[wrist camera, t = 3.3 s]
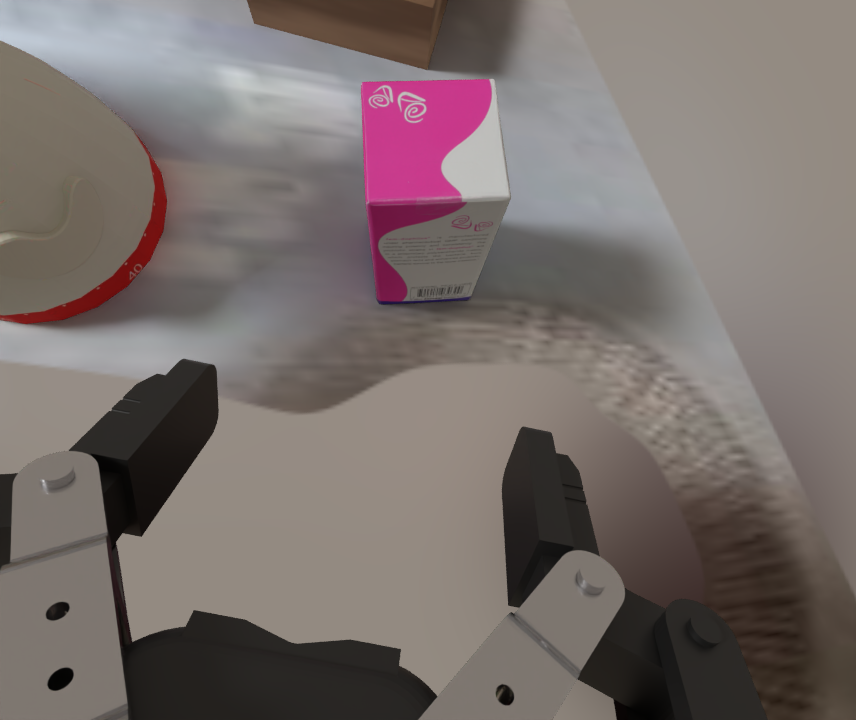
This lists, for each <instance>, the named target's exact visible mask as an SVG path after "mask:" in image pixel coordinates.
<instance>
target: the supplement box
mask: <svg viewBox="0 0 856 720" xmlns="http://www.w3.org/2000/svg"><path fill="white" fill-rule="evenodd" d="M361 100H362V125H363V150H364V178H365V199H366V211H367V218H368V227H369V235H370V246H371V253H372V261H373V270H374V279H375V288H376V297H377V301H378V303H379V304H401V303H424V302H442V301H458V300H470V298H471V295H472V293H473V291H474V288H475V286H476V283H477V281H478V278H479V276H480V273H481V271H482V268H483V266H484V263H485V261H486V258H487V255H488V253H489V251H490V248H491V246H492V243H493V241H494V238H495V236H496V233H497V231H498V229H499V226H500V224H501V221H502V219H503V216H504V214H505V211H506V209H507V206H508V204H509V201H510V199H511V193H510V186H509V179H508V172H507V165H506V158H505V151H504V144H503V137H502V130H501V124H500V117H499V110H498V101H497V93H496V86H495V80H494V79H476V80H432V81H383V82H362V85H361Z"/></svg>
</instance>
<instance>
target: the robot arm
mask: <svg viewBox="0 0 856 720" xmlns="http://www.w3.org/2000/svg"><path fill="white" fill-rule="evenodd" d="M217 420H218V390H217V371H216V368H215V366H214V365H212V364H207V363H202V362H197V361H192V360H187V359H182V360H180V361H179V362H178V363H177V364H176V365H175V366H174V367H173V368H172V369H171V370H170V371H169V372H168V374H167V375H166V376H165V375H160V374H156V375H154V376H152V377H150V378H148V379H146V380H144V381H142V382H140V383H138V384H136V385H135V386H134V387H133V388H132V389H131V390H130V391H129V392H128V393H127V394H126V395H125V396H124V397H123V400H120V401H119V402H118V403H117V404H116V405H115V406H114V407H113V408H112V411H109V412H108V413H107V414H106V415H105V416H103V418H101V419H100V420H99V421H98V422H97V423H96V424H95V425H94V426H93V427H92V428H91V429H90V430H89V431H88V432H87V433H86V434H85V435H84V436H83V437H82V438H81V439H80V440H79V441H78V442H77V443H76V444H75V445H74V446H73V447H72V448H71V449H70V450H69V451H64V452H58V453H53V454H49V455H46V456H43V457H41V458H38V459H36V460H34V461H33V462H31V463H29V464H28V465H27V466H25V467H24V468H23V469H22V470H21V471H20V472H19V473H15V474H0V720H552V719H553V718H554V716H555V715H556V713H557V711H558V709H559V708H560V706H561V705H562V703H563V701H564V700H565V698H566V697H567V695H568V693H569V692H570V690H571V689H572V687H573V685H574V684H575V682H576V680H577V679H578V680H580V681H582V682H584V683H586V684H588V685H589V686H591V687H593V688H595V689H596V690H598V691H600V692H602V693H604V694H605V695H607V696H609V697H611V698H613V699H614V705H615V711H616V717H617V720H767V717H766V714H765V712H764V709H763V707H762V704H761V701H760V699H759V696H758V694H757V691H756V688H755V686H754V683H753V681H752V678H751V676H750V673H749V670H748V668H747V665H746V663H745V660H744V657H743V655H742V652H741V650H740V647H739V644H738V642H737V640H736V638H735V635H734V634H733V632H732V631H731V629H730V628H729V626H728V625H727V624H726V623H725V622H724V620H723V619H722V618H721V617H720V616H718V615H717V614H716V613H715V612H714V611H712V610H711V609H710V608H708V607H706V606H705V605H703V604H701V603H698V602H696V601H693V600H687V599H679V600H675V601H673V602H672V603H670V605H668V607H667V608H666V609H665V608H663V607H661V606H659V605H657V604H655V603H652V602H651V601H648V600H646V599H644V598H642V597H640V596H638V595H636V594H634V593H632V592H631V591H629V590H627V589H626V588H624V585H623V582H622V580H621V578H620V576H619V575H618V573H617V572H616V570H615V569H614V568H613V567H612V566H611V565H610V564H609V563H608V562H607V561H605V560H604V559H603V558H601V557H600V556H599V551H598V548H597V543H596V539H595V535H594V531H593V527H592V523H591V518H590V515H589V510H588V506H587V505H586V498H585V494H584V491H583V485H582V481H581V477H580V473H579V471H578V469H577V468H576V466H575V465H574V464H573V462H572V461H571V460H570V458H569V457H568V456H567V455H563V454H557V453H556V451H555V446H554V441H553V436H552V433H551V432H547V431H542V430H537V429H532V428H528V427H522V428H521V429H520V431H519V434H518V436H517V439H516V442H515V444H514V447H513V450H512V452H511V455H510V458H509V460H508V463H507V466H506V469H505V472H504V477H503V483H502V501H503V519H504V536H505V554H506V571H507V572H506V573H507V589H508V605H509V606H514V607H519V609H518V610H517V611H516V612H515V613H514V614H513V613H512V612H511V613H509V614H508V615H507V616H506V617H505V618H504V619H503V621H502V622H501V623H500V624H499V625H498V626H497V627H496V629H495V630H494V631H493V632H492V633H491V634H490V636H489V637H488V638H487V639H486V640H485V642H484V643H483V644H482V645H481V646H480V647H479V649H478V650H477V651H476V652H475V653H474V654H473V656H472V657H471V658H470V659H469V660H468V662H467V663H466V664H465V665H464V666H463V668H462V669H461V670H460V671H459V672H458V673H457V675H456V676H455V677H454V678H453V679H452V680H451V682H450V683H449V684H448V685H447V686H446V688H445V689H444V690H443V691H442V692H441V694H440V695H439V696H438V697H437V695H436V694H435V693H434V692H433V691H432V690H431V689H430V688H429V686H427V685H426V684H425V683H424V682H423V681H422V680H421V679H419V678H418V677H417V676H415V675H414V674H412V673H411V672H410V671H408V670H406V669H404V668H402V667H400V666H399V660H400V652H401V649H397V648H391V647H386V646H381V645H376V644H371V643H365V642H360V641H354V640H340V641H328V642H315V643H302V644H294V643H291V642H288V641H286V640H284V639H282V638H280V637H278V636H276V635H274V634H272V633H270V632H268V631H266V630H264V629H262V628H260V627H258V626H256V625H254V624H252V623H251V622H248V621H247V620H243V619H238V618H233V617H228V616H222V615H217V614H212V613H206V612H201V611H195V610H194V611H193V613H192V615H191V617H190V619H189V621H188V623H187V625H186V627H179V628H174V629H168V630H164V631H160V632H157V633H154V634H151V635H148V636H146V637H143V638H141V639H138V640H136V641H134V642H132V638H131V633H130V627H129V622H128V616H127V610H126V603H125V596H124V589H123V582H122V576H121V569H120V562H119V555H118V549H117V545H116V541H117V540H118V538H119V537H120V536H121V534H122V533H125V534H130V535H135V536H141V537H142V535H143V534H144V532H145V531H146V529H147V528H148V526H149V525H150V524H151V522H152V521H153V519H154V518H155V516H156V515H157V513H158V512H159V510H160V509H161V508H162V506H163V505H164V503H165V502H166V500H167V499H168V498H169V496H170V495H171V493H172V492H173V490H174V489H175V487H176V486H177V485H178V483H179V482H180V480H181V479H182V477H183V476H184V474H185V473H186V472H187V470H188V469H189V467H190V466H191V464H192V463H193V461H194V460H195V459H196V457H197V455H198V454H199V453H200V451H201V450H202V448H203V447H204V446H205V444H206V443H207V441H208V440H209V438H210V437H211V435H212V434H213V432H214V429H215V426H216V424H217Z"/></svg>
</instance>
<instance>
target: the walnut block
mask: <svg viewBox="0 0 856 720" xmlns="http://www.w3.org/2000/svg"><path fill="white" fill-rule="evenodd" d="M447 1H448V0H247V2H248V5H249V8H250V12H251V15H252V18H253V21H254V24H258V25H262V26H266V27H269V28H273V29H277V30H280V31H284V32H288V33H292V34H295V35H299V36H303V37H306V38H310V39H314V40H318V41H321V42H325V43H329V44H333V45H336V46H340V47H344V48H347V49H351V50H355V51H359V52H362V53H366V54H370V55H373V56H377V57H381V58H385V59H388V60H392V61H396V62H400V63H403V64H407V65H411V66H414V67H418V68H422V69H426V70H427V69H428V66H429V62H430V59H431V55H432V52H433V49H434V45H435V42H436V39H437V35H438V32H439V28H440V25H441V22H442V18H443V15H444V11H445V8H446V5H447Z"/></svg>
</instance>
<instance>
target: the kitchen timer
mask: <svg viewBox="0 0 856 720" xmlns="http://www.w3.org/2000/svg"><path fill="white" fill-rule="evenodd" d="M166 205H167V199H166V194H165V189H164V184H163V179H162V175H161V172H160V170H159V168H158V167H157V165H156V163H155V161H154V160H153V158H152V156H151V155H150V153H149V151H148V150H147V148H146V147H145V145H144V144H143V143H142V141H141V140H140V139H139V137H138V136H137V135H136V134H135V132H134V131H133V130H132V129H131V128H130V127H129V126H128V125H127V124H126V123H125V122H124V121H123V120H122V119H121V118H119V117H118V116H117V115H116V114H115V113H114V112H113V111H111V110H110V109H109V108H108V107H107V106H106V105H105V104H103V103H102V102H101V101H100V100H99V99H98V98H96V97H95V96H94V95H93V94H92V93H90V92H89V91H87V90H86V89H85V88H83V87H82V86H80V85H79V84H77V83H76V82H74V81H73V80H71V79H70V78H68V77H67V76H65V75H64V74H62V73H61V72H59V71H58V70H56V69H55V68H53V67H51V66H50V65H48V64H47V63H45V62H43V61H42V60H40V59H38V58H36V57H34V56H32V55H30V54H28V53H26V52H24V51H22V50H20V49H18V48H15V47H13V46H11V45H9V44H7V43H5V42H2V41H0V320H4V321H10V322H17V323H23V324H29V323H39V322H48V321H57V320H64V319H66V318H69V317H72V316H75V315H77V314H80V313H83V312H85V311H88V310H91V309H93V308H96V307H98V306H100V305H101V304H103V303H104V302H105V301H107V300H108V299H110V298H111V297H113V296H114V295H116V294H117V293H119V292H120V291H121V290H123V289H124V288H126V287H127V286H128V285H129V284H130V283H131V282H132V280H133V279H134V278H135V277H136V276H137V275H138V274H139V272H140V271H141V270H142V269H143V268H144V267H145V265H146V264H147V263H148V262H149V261H150V259H151V257H152V255H153V252H154V250H155V248H156V246H157V244H158V241H159V239H160V237H161V235H162V233H163V229H164V221H165V213H166Z"/></svg>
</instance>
